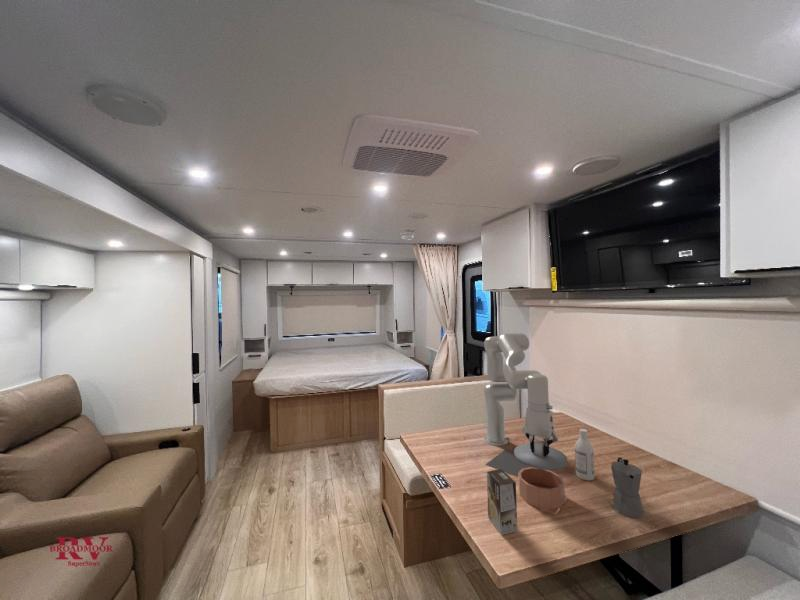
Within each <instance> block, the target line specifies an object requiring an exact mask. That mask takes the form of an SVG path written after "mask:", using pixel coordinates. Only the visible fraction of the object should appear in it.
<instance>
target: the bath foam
mask: <svg viewBox="0 0 800 600" xmlns="http://www.w3.org/2000/svg"><path fill="white" fill-rule="evenodd" d="M594 453H595V452H594V447H593V445H592V443H591V442H590V440H589V439H588V430H587V429H585V428H580V429H579V438H578V439H577V441H576V442H575V445H574V455H575V456H574V460H575V461H574V462H575V466H574V467H575V475H576V476H577V477H578V478H579V479H580V480H584V481H593V480H594V479H595V460H594V459H595V458H594V457H595V456H594V455H595V454H594Z"/></svg>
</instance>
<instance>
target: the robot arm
mask: <svg viewBox="0 0 800 600" xmlns="http://www.w3.org/2000/svg"><path fill="white" fill-rule="evenodd" d="M483 346H484V350H485V353H486V374H487V375H486V376H487V380H488V381H490V382H491V383H488V384H486V385H485V386H484V388H483V393H484V399H485V410H486V411H485V413H486V414H485V415H486V416H485V417H486V435H485V436H484V437H483V440H484V443H487V444H488V445H491V446H496V447H503V446H507V445H508V443H509V440H508V438H506V434H507V433H508V431H507V429H505V428H506V427H505V410H504V407H503V406H502V404H501V403H500V402H514V401H515V400H516V399H517V397H518V395H517V394H518V390H527V407H526V411H525V416H524V426H523V427H522V428H521V431H520V433H522V434H524V435H525V437H526V438H527V439H528V441H529V444H530V449H531V452H532V453H534V440H536V439H535V437H539V438H542V440H543V441H544V446H543V453H544V456H545V457H546V456H547V455H548V454H549V447H550V445H551V444H553V443H556V442H558V441H559V439H560V438H559V437H558V435H557V433H556V432H555V424H554V417H553V412H552V411H551V410H553V408H554V407H553V406H552V405H550V401H549V399H550V398H549V379H548V376H546V375H544V374H542V373H541V372H540V371H538V370H532V369H531V370H517V368H516V367H517V366H519V365H520V364H522V363H523V362H524V360H525V358H526V354H525V352H524V351H526V350H528V349H529V347H530V340H529V338H528V336H527V334H525V333H518V332H517V333H516V332H515V333H503V334H500V335H499V336H496V335H495V336H489V337H486V338H485V339H484V345H483ZM504 357H505V360H504Z"/></svg>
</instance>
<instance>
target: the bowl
mask: <svg viewBox="0 0 800 600" xmlns="http://www.w3.org/2000/svg"><path fill="white" fill-rule="evenodd" d="M517 482H518V493H519V496H520V498H522V499H523V500H524V502H525V503H527V504H529V505H531V506H533V507H535V508H538V509H541V510H542V509H543V510H545V509H550V510H552V509H560V508H561V509H562V507H563V506H564V504H565V503H566V499H565V497H566V496H565V482H564V480H563V478H562V476H560V475H559V474H557V473H555V471H553V470H543V469H537V468H533V467H528V468H523V469H521V470H520V471H519V472H518V477H517Z"/></svg>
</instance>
